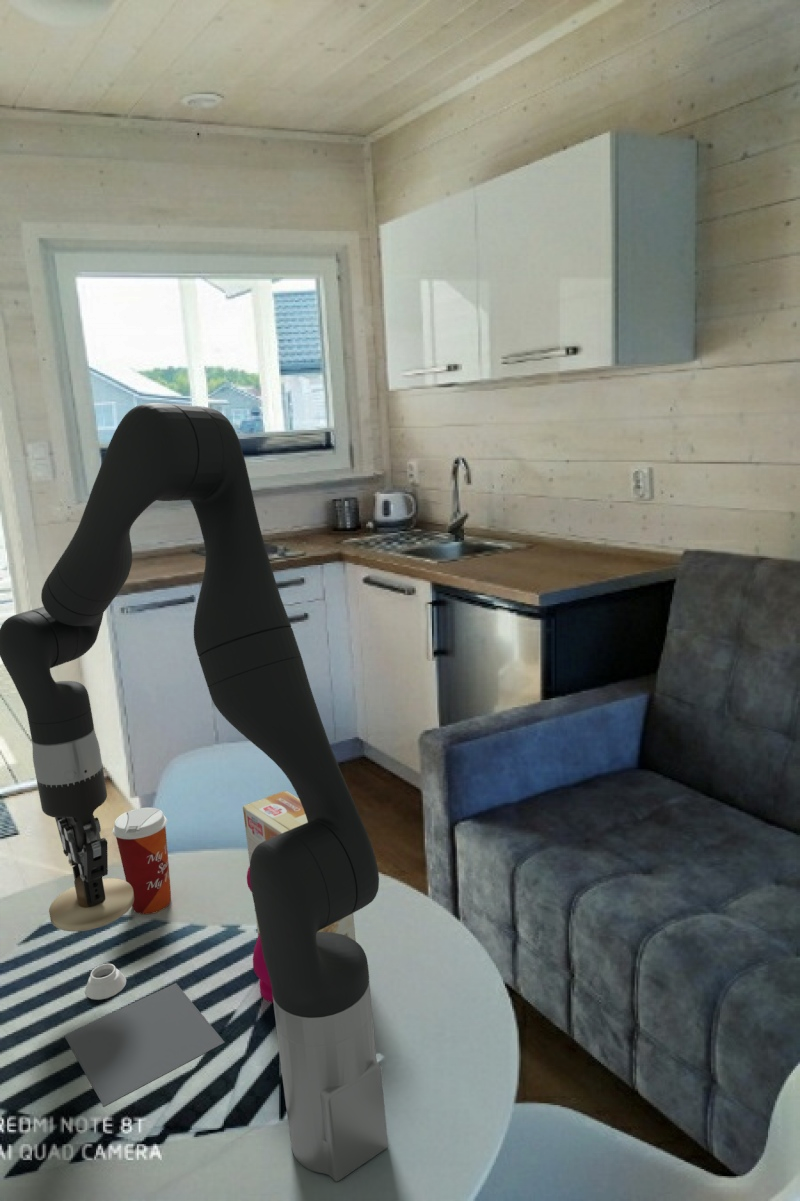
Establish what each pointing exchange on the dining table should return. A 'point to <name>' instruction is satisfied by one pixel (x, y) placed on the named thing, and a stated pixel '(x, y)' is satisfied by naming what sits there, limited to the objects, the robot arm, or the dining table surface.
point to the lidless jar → (104, 982)
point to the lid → (78, 916)
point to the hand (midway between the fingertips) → (91, 896)
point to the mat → (141, 1042)
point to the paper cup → (145, 857)
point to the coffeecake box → (276, 819)
